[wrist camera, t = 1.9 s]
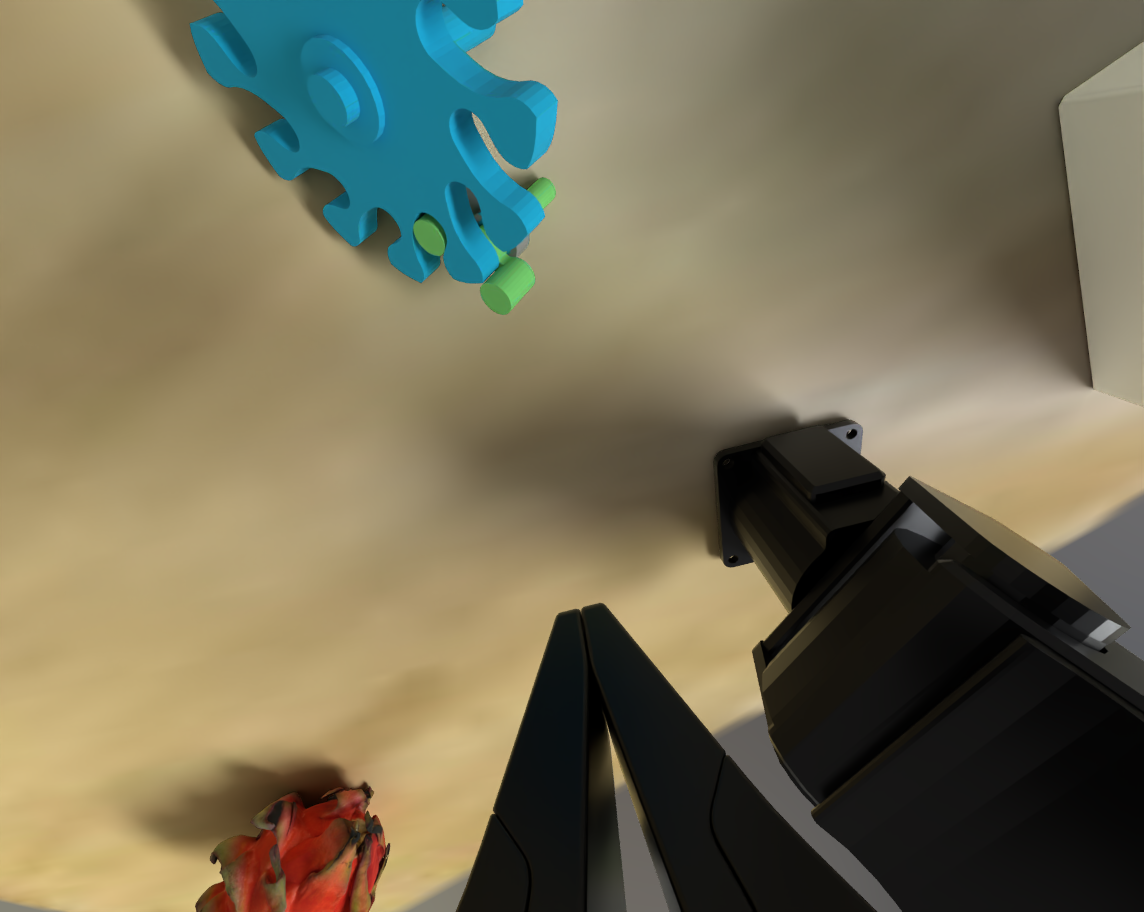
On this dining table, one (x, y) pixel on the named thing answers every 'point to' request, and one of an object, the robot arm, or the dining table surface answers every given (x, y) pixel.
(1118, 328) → the gable box
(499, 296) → the gear
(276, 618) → the dining table surface
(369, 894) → the dragon fruit
